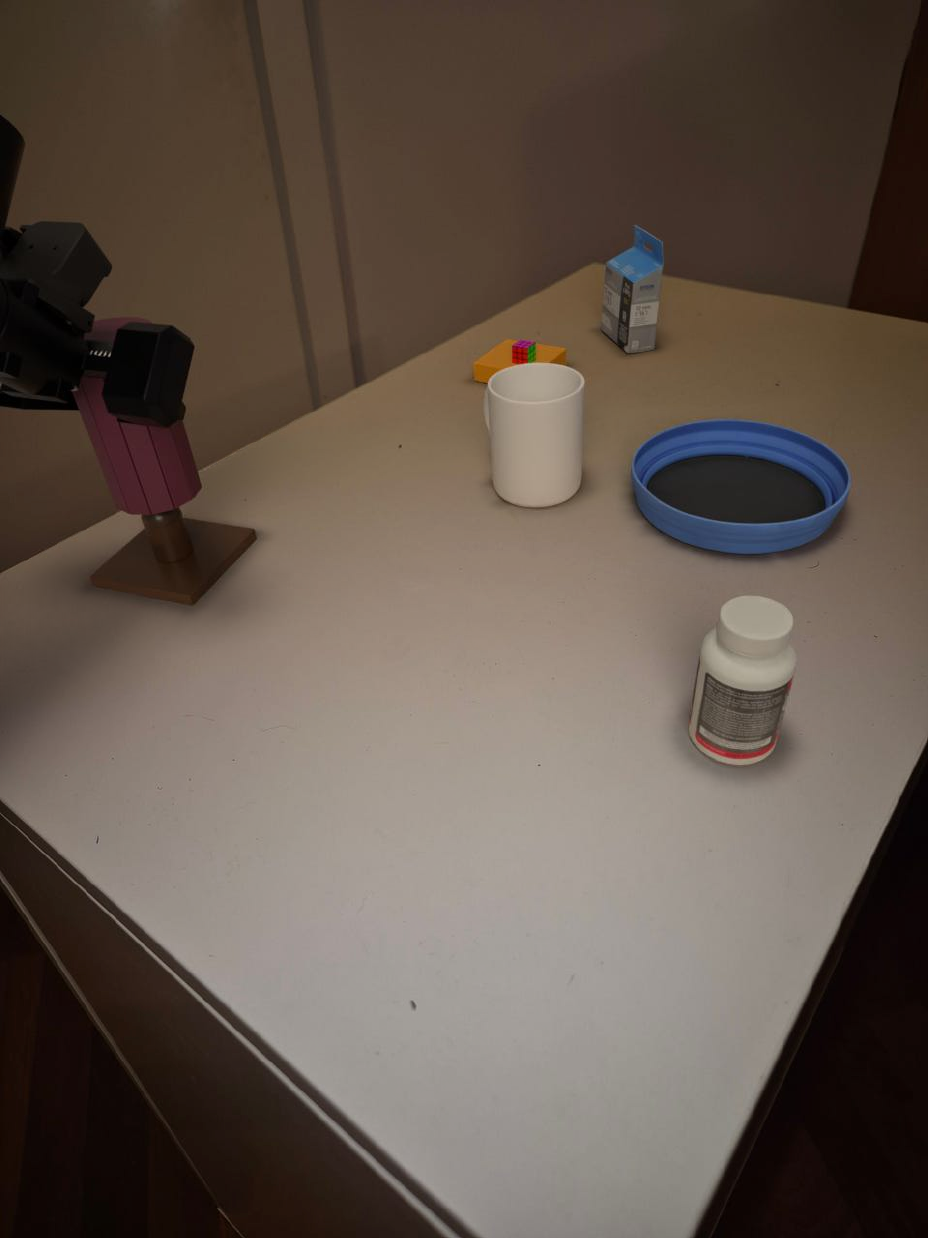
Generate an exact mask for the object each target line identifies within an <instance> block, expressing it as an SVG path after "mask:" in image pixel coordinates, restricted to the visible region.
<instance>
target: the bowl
mask: <svg viewBox="0 0 928 1238" xmlns="http://www.w3.org/2000/svg"><path fill="white" fill-rule="evenodd" d="M630 478H631V484H632V487H633V490H634V493H635V498H636V503H637V505H638V508H639V510H640V512H641V513H642V514H643V516H644V517H645V518H646V519H647V520H648V521H649V522H650V523H651V525H653V526H654V527H655V528H656V529H658V530H659V531H661V533H664V534H665V535H667V536H669V537H672V538H673V539H676V540H677V541H680V542H681V543H685V544H687V545H691V546H693V547H696V548H701V549H705V550H709V551H713V552H720V553H725V554H736V555H762V554H765V555H766V554H771V553H773V554H774V553H779V552H783V551H789V550H792V549H796V548H799V547H801V546H804V545H807V544H808V543H811V542H812V541H814V540H816V539H817V538H818V537H820V536H822V535H823V534H824V533H825V532H826V531H827V530H828V529H829V528H830V527H831V525H832V524H833V522H834V520H835V518H836V516H837V515H838V514H839V513H840V511H841V510H842V508H843V506H844V505H845V504H846V502H847V500H848V497H849V494H850V490H851V484H852V475H851V472H850V469H849V467H848V465H847V463H846V462H845V460H844V459H843V458H842V457H841V456H840V455H839V454H838V453H837V452H836V451H835V450H833V449H832V448H831V447H830V446H828V445H827V444H825V443H824V442H821V441H820V440H819V439H817V438H815V437H813V436H810V435H808V434H806V433H803V432H800V431H798V430H795V429H792V428H789V427H786V426H783V425H778V424H774V423H769V422H764V421H757V420H751V419H750V420H749V419H739V418H738V419H737V418H717V419H716V418H715V419H705V420H703V419H702V420H696V421H691V422H686V423H682V424H678V425H674V426H672V427H669V428H666V429H663V430H662V431H659V432H657V433H656V434H654V435H652V436H650V437H649V438H647V439H646V440H645V441H644V442H642V443H641V444H640V445H639V446H638V448H637V449H636V450H635V452H634V453H633V455H632V460H631V467H630Z"/></svg>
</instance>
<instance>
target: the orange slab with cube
mask: <svg viewBox="0 0 928 1238" xmlns="http://www.w3.org/2000/svg"><path fill="white" fill-rule="evenodd" d="M527 363H552V364H559V365H563V366H567V348H566V347H562V346H561V347H560V346H555V345H548V344H543V343H537V342H536V341H530V340H525V339H513V338H505V340H503V341H502V342H501V343H499V344H497V345H496V346H495V347H493V348H492V349H491V350H490V351H488V352H486V353H485V354H484V355H482V356H481V357H479V358H478V359H476V360H475V361H474V362H473V365H472V366H473V378H474V382H479V383H483V384H488V382H489V380H490V378H491V377H492V376H493V375H494V374H495V373H497V372H499V371H501V370H503V369H505V368H508V367H511V366H515V365H520V364H527Z"/></svg>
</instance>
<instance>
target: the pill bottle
mask: <svg viewBox="0 0 928 1238" xmlns="http://www.w3.org/2000/svg"><path fill="white" fill-rule="evenodd" d="M718 613H719V614H718V618H717V622H716V625H715V627H713V629H711V630H710V631H709V632H708V633H707V634H706V635H705V637H704V638H703V639H702V641H701V644H700V648H699V653H698V660H697V666H696V672H695V680H694V686H693V692H692V698H691V706H690V711H689V712H690V713H689V721H688V732H689V737H690V738H691V740H692V742H693V744H694V745H695V747H697V748H698V750H699V751H701V752H702V753H703V754H704V755H706V756H707V757H709V758H711V759H713V760H715V761H717V762H719V763H722V764H723V763H724V764H727V765H733V766H747V765H752V764H756V763H758V762H760V761H762V760H765V759H766V758H768V756H770V755H771V754H772V752H773V751H774V749H775V747H776V744H777V741H778V737H779V734H780V730H781V727H782V722H783V719H784V715H785V713H786V708H787V707H786V706H787V703H788V700H789V696H790V691H791V689H792V684H793V681H794V677H795V674H796V673H795V672H796V669H797V662H798V661H797V653H796V650H795V648H794V646H793V645H792V643H791V640H792V637H793V636H792V633H793V630H794V617H793V615H792V613H791V612H790V610H789V609H788V608H787V607H786V606H785V605H784V604H782V603H781V602H778V601H777V600H774V599H772V598H769V597H767V596H760V595H740V596H735V597H734V598H732V599H728V600H727V601H726V602H725V603H724V604H723V605H722V606H721V608H720V609H719V612H718Z"/></svg>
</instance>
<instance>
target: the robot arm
mask: <svg viewBox="0 0 928 1238" xmlns="http://www.w3.org/2000/svg"><path fill="white" fill-rule="evenodd" d="M25 149H26V141H25V138H24V136H23V135H22V133H21V132H20V131H19V129H18V128H17V127H16V126H15V125H13V123H11V121H10V120H8V119H7V118H6V117H5V116H3V115H2V114H0V408H1V407H2V408H8V409H16V410H22V411H72V412H73V411H77V412H80V411H79V409H78V406H77V403H76V401H75V398H74V395H73V393H72V391H74V392H75V391H77V390H78V389H79V386H80V379H81V378H82V377H91V378H100V379H105V382H104V386H103V390H102V394H101V395H102V397H103V400H104V403H105V406H106V408H107V411H108V413H109V414H111V415H113V416H115V417H117V422H120V423H128V424H135V425H143V426H156V427H164V428H169V427H170V426H172V425H173V424H174V423H175V422H177V421H183V422H184V419H185V416H186V412H187V406H186V404H184V401H183V399H184V395H185V394H184V393H185V390H186V385H187V381H188V377H189V373H190V369H191V364H192V360H193V356H194V352H195V347H196V346H195V344H194V342H193V341H192V339H191V338H190V337H189V335H187V334H186V333H184V332H182V331H181V330H180V329H178V328H177V327H176V326H174V324H173V325H172V324H162V323H153V322H152V323H153V324H152V323H140V322H129V323H127V324H125V325H123V326H121V327H119V328H118V329H117V332H116V336H115V340H114V342H106V341H95V340H85V339H84V336H85V333H91V331H92V327H93V322H94V321H95V318H96V315H95V314H94V313H93V312H90V311H89V310H88V309H86V308H84V307H86V305H88V303H89V302H90V300H91V299H92V297H93V296H94V294H95V293H96V291H97V290H98V288H99V286H100V284H101V283H102V281H104V279H105V278H108V277H109V275H110V274H111V272H112V270H113V263H111V261H110V260H109V259H108V257H107V255H106V254H105V253H104V251H103V250H102V248H101V246H100V245H99V244H98V243H97V241H96V240H95V238H94V237H93V236H92V234H91V233H90V231H89V230H88V229H87V227H86V226H85V225H84V224H83V223H81V222H76V221H75V222H73V221H50V220H41V221H37V222H34V223H33V224H21V225H20V227H19V228H18V229H19V231H18V230H17V229H15V228H13V227H11V226H7V225H6V224H7V221H8V217H9V213H10V208H11V204H12V200H13V197H14V193H15V189H16V185H17V181H18V177H19V173H20V169H21V165H22V160H23V157H24V154H25Z"/></svg>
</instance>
